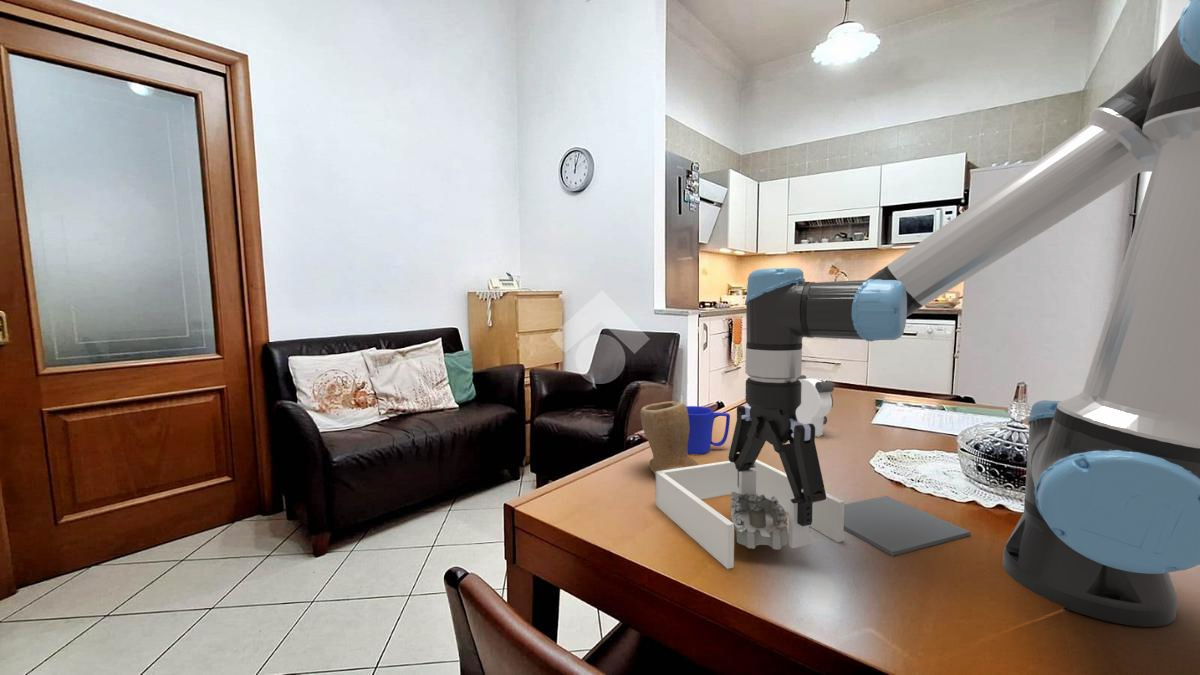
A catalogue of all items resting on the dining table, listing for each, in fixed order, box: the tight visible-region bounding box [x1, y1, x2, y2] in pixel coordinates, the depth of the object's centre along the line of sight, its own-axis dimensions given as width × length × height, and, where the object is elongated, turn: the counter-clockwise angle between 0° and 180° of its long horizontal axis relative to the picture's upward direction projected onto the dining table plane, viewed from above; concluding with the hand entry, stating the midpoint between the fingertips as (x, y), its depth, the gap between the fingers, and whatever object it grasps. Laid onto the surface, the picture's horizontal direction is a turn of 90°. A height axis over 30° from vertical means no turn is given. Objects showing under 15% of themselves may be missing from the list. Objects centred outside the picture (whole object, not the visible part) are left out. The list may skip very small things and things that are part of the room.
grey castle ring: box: [730, 492, 789, 550], centre depth 70 cm, size 11×8×4 cm
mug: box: [685, 405, 731, 455], centre depth 111 cm, size 8×12×10 cm
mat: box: [844, 495, 972, 557], centre depth 76 cm, size 14×16×1 cm
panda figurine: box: [796, 374, 835, 437], centre depth 123 cm, size 12×11×15 cm
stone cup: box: [640, 400, 700, 476], centre depth 96 cm, size 15×12×15 cm
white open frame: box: [654, 459, 845, 570], centre depth 77 cm, size 21×20×6 cm
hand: (771, 527), depth 71 cm, fingers closed on grey castle ring, 10 cm apart
